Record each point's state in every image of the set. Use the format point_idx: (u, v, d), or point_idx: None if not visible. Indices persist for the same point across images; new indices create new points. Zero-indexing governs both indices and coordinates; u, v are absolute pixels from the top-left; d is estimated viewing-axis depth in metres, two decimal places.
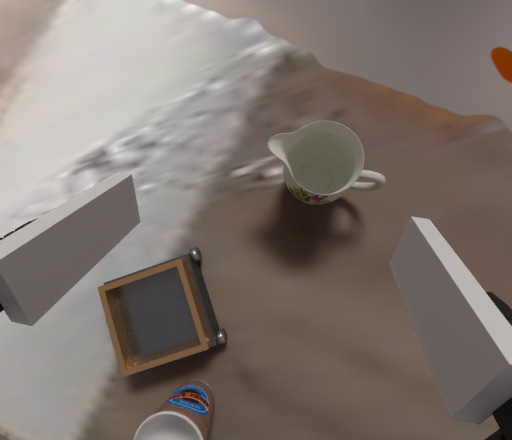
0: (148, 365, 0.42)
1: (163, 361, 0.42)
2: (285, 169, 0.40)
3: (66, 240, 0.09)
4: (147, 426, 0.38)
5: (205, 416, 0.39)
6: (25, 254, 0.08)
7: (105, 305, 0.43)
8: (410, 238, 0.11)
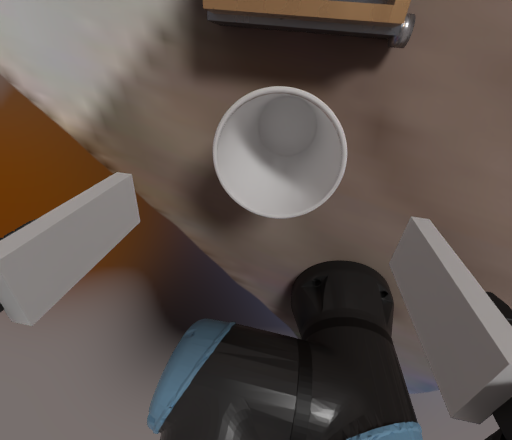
0: (264, 4, 0.20)
1: (298, 9, 0.19)
2: None
3: (66, 240, 0.09)
4: (240, 113, 0.21)
5: (332, 143, 0.23)
6: (25, 254, 0.08)
7: None
8: (410, 238, 0.11)
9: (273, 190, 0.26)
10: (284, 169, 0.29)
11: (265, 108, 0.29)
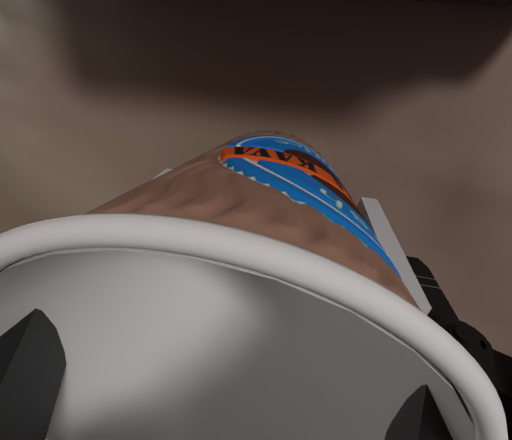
0: None
1: None
2: None
3: None
4: None
5: None
6: None
7: None
8: None
9: (231, 362, 0.11)
10: (263, 279, 0.14)
11: None
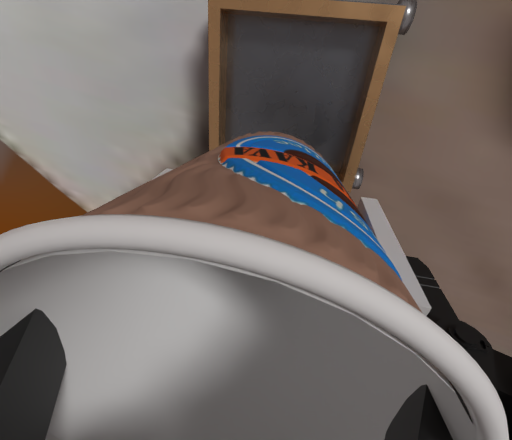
0: None
1: None
2: None
3: None
4: None
5: None
6: None
7: (214, 41, 0.22)
8: None
9: (231, 362, 0.11)
10: (263, 279, 0.14)
11: None
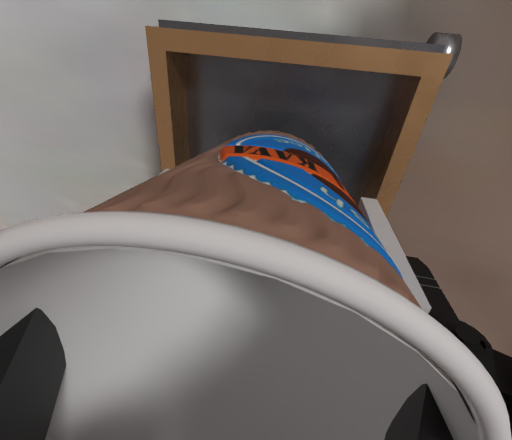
0: None
1: None
2: None
3: None
4: None
5: None
6: None
7: (162, 96, 0.15)
8: None
9: (231, 362, 0.11)
10: (263, 279, 0.14)
11: None
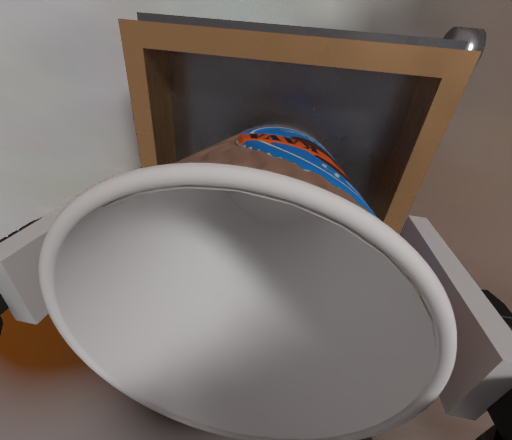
0: None
1: None
2: None
3: None
4: (136, 201, 0.08)
5: None
6: (30, 253, 0.08)
7: (141, 100, 0.13)
8: (407, 237, 0.11)
9: (244, 326, 0.12)
10: (270, 259, 0.16)
11: None
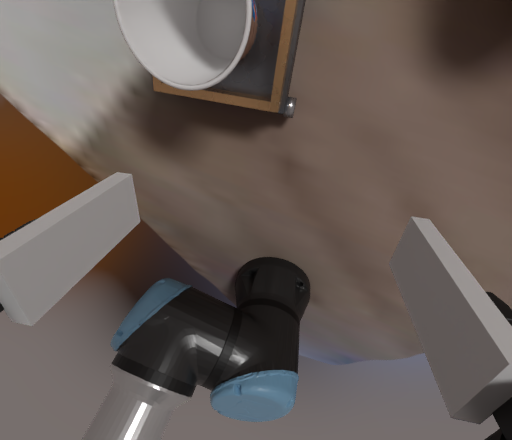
0: (192, 93, 0.30)
1: (213, 98, 0.30)
2: None
3: (66, 240, 0.09)
4: None
5: (252, 11, 0.21)
6: (25, 254, 0.08)
7: None
8: (410, 238, 0.11)
9: (197, 74, 0.24)
10: (219, 66, 0.28)
11: None
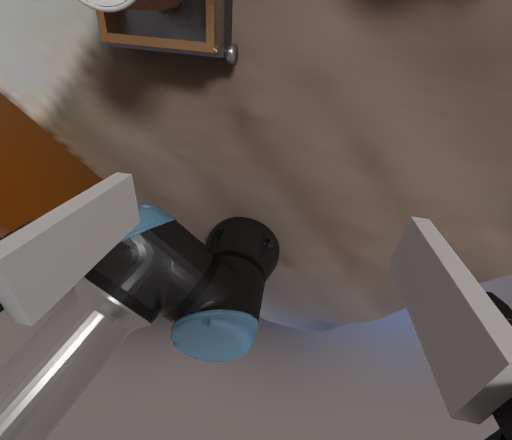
0: (135, 40, 0.33)
1: (155, 43, 0.33)
2: None
3: (66, 240, 0.09)
4: None
5: None
6: (25, 254, 0.08)
7: None
8: (410, 238, 0.11)
9: None
10: None
11: None
